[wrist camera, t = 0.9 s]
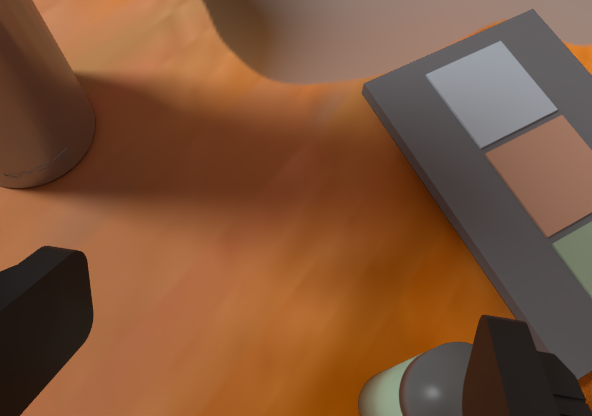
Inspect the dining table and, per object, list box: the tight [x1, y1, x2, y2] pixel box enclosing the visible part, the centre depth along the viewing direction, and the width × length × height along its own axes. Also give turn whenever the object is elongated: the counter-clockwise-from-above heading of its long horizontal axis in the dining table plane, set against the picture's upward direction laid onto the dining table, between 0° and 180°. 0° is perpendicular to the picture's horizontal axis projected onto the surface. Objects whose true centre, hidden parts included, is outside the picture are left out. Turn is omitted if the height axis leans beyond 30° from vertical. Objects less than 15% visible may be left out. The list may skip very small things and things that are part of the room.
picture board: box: [362, 9, 592, 380], centre depth 37 cm, size 24×16×1 cm, turn 28°
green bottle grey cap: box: [358, 342, 473, 416], centre depth 25 cm, size 4×4×13 cm
